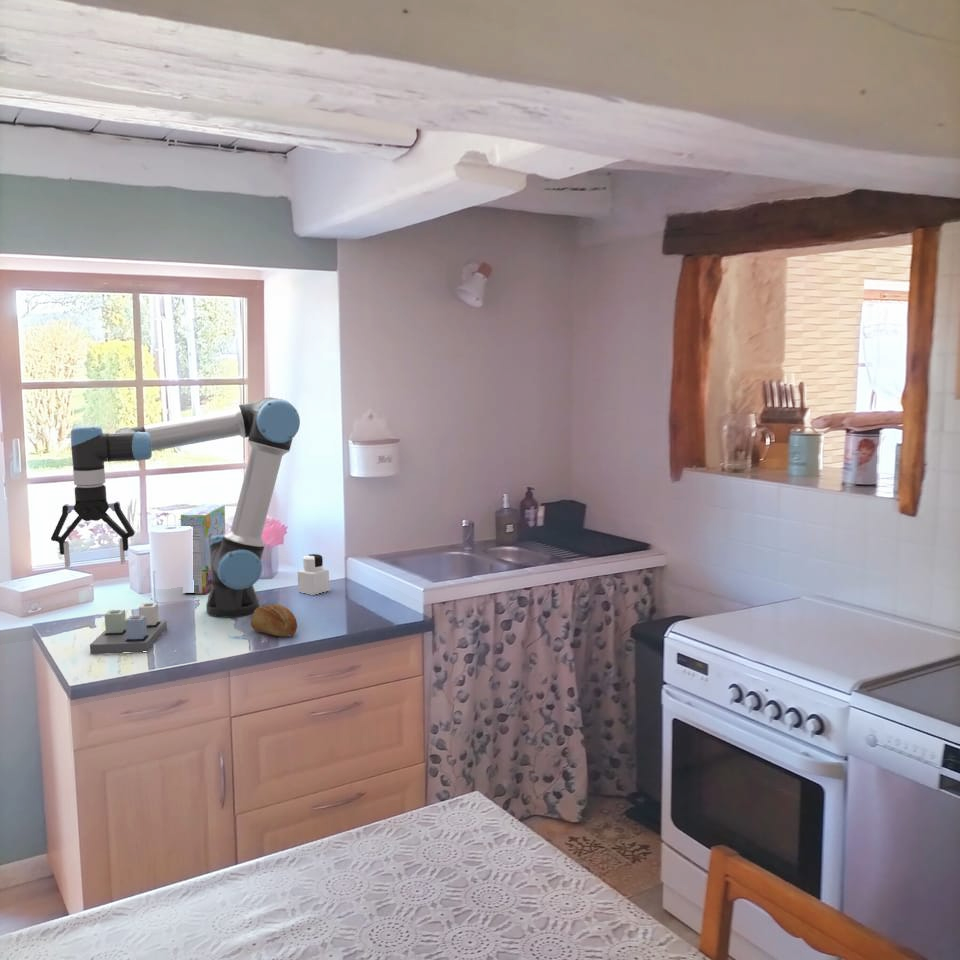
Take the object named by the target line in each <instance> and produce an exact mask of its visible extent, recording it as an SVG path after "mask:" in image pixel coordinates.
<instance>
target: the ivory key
mask: <svg viewBox="0 0 960 960" xmlns="http://www.w3.org/2000/svg"><path fill="white" fill-rule="evenodd" d="M159 614H160V613H159V603H158V602H148V603H147V602H145V603H142V604H140V606H139V607H138V616H146V625H155V624H156V623H157V622H158V621H159V620H160V617H159V616H160V615H159Z"/></svg>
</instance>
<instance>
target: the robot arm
mask: <svg viewBox="0 0 960 960" xmlns="http://www.w3.org/2000/svg"><path fill="white" fill-rule="evenodd" d="M300 418H301V417H300V414H299V412H298V410H297V409H296V407H295V406H294V405H293V404H292V403H290V402H289V401H287V400H284V399H283V398H277V397H276V398H275V397H264V398H261V399H257V400H255V401H252V402H248V403H242V404H237V405H236V406H235V407H234V409H230V410H224V411H219V412H212V413H207V414H201V415H197V416H195V415H194V416H190V417H184V418H178V419H172V420H167V421H162V422H155V423H151V424H145V425H142V426H140V425H139V426H135V427H134V426H133V427H122V428H119V429H118V430H116V431H115V432H114V433H113V432H110V433H109V432H107V433H106V432H104V431H103V429H102V427H101V426H99V425H84V426H83V425H81V426H74V427H73V428H72V429H71V430H70V446H71V448H70V449H71V457H72V469H73V470H72V473H73V484H74V485H75V488H74V501H75V503H74V505H73V504H68V503H65V504H64V505H63V506H62V510H61V515H60V517H59V520H58V522H57V525H55V529H54V530H53V533H52V535H51V538H50V540H51V541H52V542H57V543H58V547H59V554H60V555H63V556H64V568H65V569H66V568H70V566H71V559H70V558H71V557H70V555H71V554H70V544H69V540H67V538H68V537H69V536H70V535H71V533H72V532H73V531H74V530H75V529H76V527H77V526H78V525H79V524H80V522H81V521H82V520H83V521H85V522H91V521H96V522H97V521H99V520H100V521H101V520H102V521H103V522H104V523H106V525H108V527H110V528H111V529H112V530H113V531H114V532H115V533H116V534H117V535H119V536H120V538H119V539H118V541H119V553H120V555H119V556H120V565H124V564H125V563H126V558H125V557H126V556H125V551H126V552H127V551H128V550H129V538H131V537H134V536H135V533H136V531H135V530H134V528H133V526H132V525H131V524H130V522H129V520H128V518H127V517H126V515H125V514H124V512H123V511H122V509H121V503H120V501H115V502H112V503H108V500H107V487H106V485H105V483H106V472H105V462H107V463H108V462H109V463H111V462H129V461H130V462H131V461H133V462H134V461H136V462H140V461H143V460H144V461H146V460H150V459H151V458H152V456H153V454H152V452H156V451H160V450H166V449H167V450H168V449H172V448H177V447H183V446H188V445H193V444H198V443H204V442H210V441H215V440H221V439H226V438H232V437H237V436H240V437H241V438H243V439H245V438H248V443H249V445H250V446H251V450H250V451H251V452H250V455H249V457H248V458H249V459H248V461H247V466H246V470H245V473H244V477H243V482H242V485H241V489H240V493H239V497H238V501H237V504H236V508H235V511H234V512H235V513H234V517H233V520H232V524H231V527H230V531H228V532H225V534H222V535H215V536H212V537H211V538H210V545H209V548H210V561H211V583H212V586H211V590H210V591H209V593H208V598H207V601H206V602H207V603H206V604H205V605H206V606H205V607H206V608H205V609H206V611H205V612H206V614H207V615H209V616H211V617H216V618H217V617H218V618H232V617H233V618H234V617H242V616H247V614H248V615H250V613H251V614H253V612H254V611H255V610H256V608H258V607H260V601H259V598H258V595H257V593H256V590H255V587H254V585H255V584H256V583H257V582H258V581H259V579H260V577H261V576H262V575H261V574H262V571H263V569H262V568H263V566H262V557H263V554H264V549H265V545H266V544H265V542H264V541H263V539H262V535H263V532H264V527H265V523H266V521H267V516H268V513H269V508H270V506H271V502H272V497H273V494H274V489H275V487H276V486H275V485H276V482H277V479H278V474H279V471H280V466H281V462H282V458H283V456H284V455H286V454H287V453H289V452H290V450H291V446H292V442H293V438H294V437H295V436H296V435H297V434H298V432H299V429H300V424H301V420H300ZM109 509H111V511H113V512H115V515H116V516H117V518H118V519H119V521H120V523H121V524H122V526H123V527H124V529H123V528H122V527H121V526H120V525H119V524H118V523H116V522H115V520H113V518H111V516H110V515H109V514H108V513H107V511H108V510H109ZM72 511H74V512H75V513H76V514H77V517H76V518H75V519H74V520H73V522H72V523H71V524H70V525H69V527H67V529H66V530H65V531H64V533H63V534H62V535H60V533H61V532H62V529H63V527H64V525H65V522H66V521H67V518H68V516H69V514H71V513H72Z"/></svg>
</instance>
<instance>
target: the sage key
mask: <svg viewBox="0 0 960 960" xmlns="http://www.w3.org/2000/svg"><path fill="white" fill-rule="evenodd" d="M125 620H126V610H125V609H112V610H111V609H110V610H108V611H107V612H106V613H105V614H104V624H105V625H104V626H105V627H104V628H105V630H106V633H122V632H123V631H124V630H125V629H126V621H125Z"/></svg>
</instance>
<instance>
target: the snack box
mask: <svg viewBox="0 0 960 960" xmlns="http://www.w3.org/2000/svg"><path fill="white" fill-rule="evenodd" d="M225 513H226V508H225V505H224V504H201V505H199V506H196V507H194V508H192V509H190V510H188V511H186V512H183V513H181V514H180V527H181V526H191V527H193V580H194V593H195V594H196V595H206V594H209V593H210V590H211V586H212V583H211V561H210V548H209V545H210V538H211V537H212V536H215V535H222V534H226V514H225ZM195 594H194V595H195Z"/></svg>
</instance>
